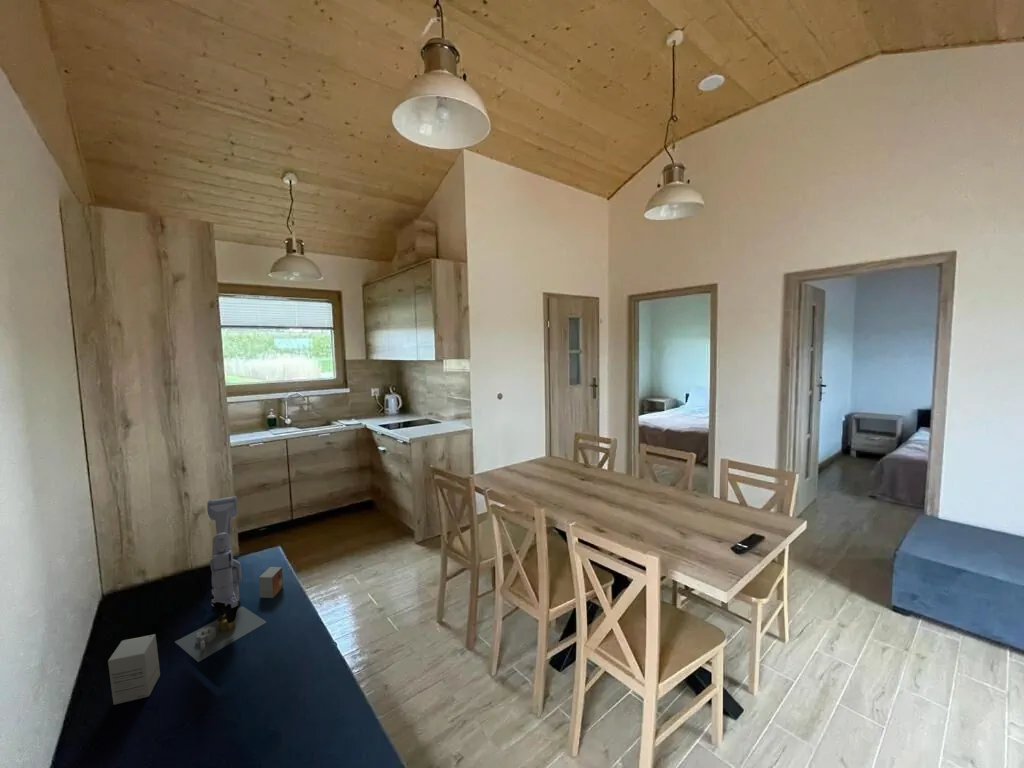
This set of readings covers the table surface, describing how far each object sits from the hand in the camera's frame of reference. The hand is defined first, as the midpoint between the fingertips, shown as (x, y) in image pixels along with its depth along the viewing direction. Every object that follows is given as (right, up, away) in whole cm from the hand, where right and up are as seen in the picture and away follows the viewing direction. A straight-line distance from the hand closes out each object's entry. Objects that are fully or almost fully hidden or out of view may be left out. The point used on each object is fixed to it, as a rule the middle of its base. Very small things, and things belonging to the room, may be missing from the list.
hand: (226, 617), depth 159 cm
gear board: (0, -6, -2) cm, 6 cm away
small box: (+5, -3, +22) cm, 23 cm away
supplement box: (-11, -9, -25) cm, 29 cm away
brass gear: (0, -4, +1) cm, 4 cm away
